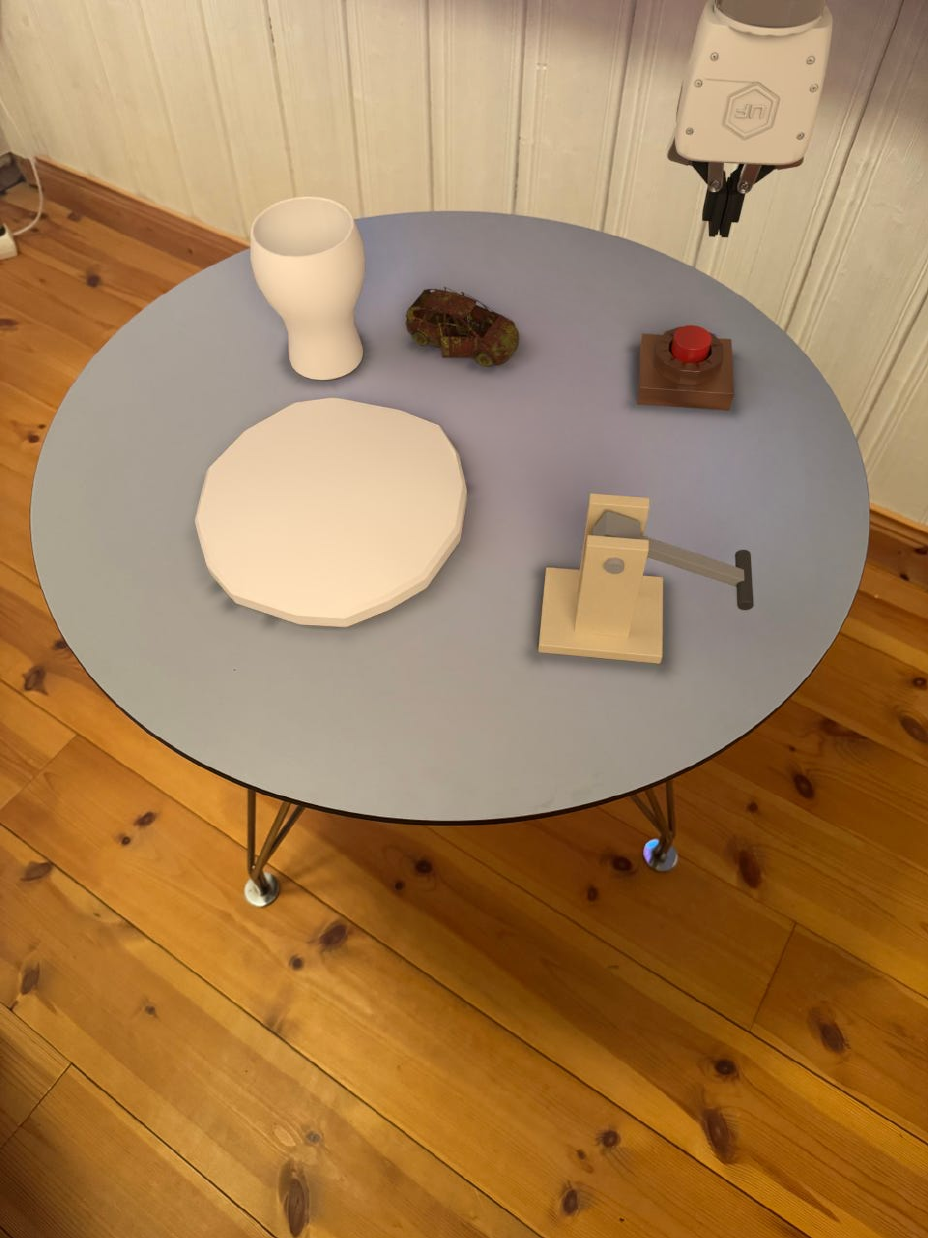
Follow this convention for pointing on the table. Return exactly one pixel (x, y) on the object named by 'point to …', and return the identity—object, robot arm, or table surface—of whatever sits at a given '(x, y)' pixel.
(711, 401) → the button block
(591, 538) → the lever base
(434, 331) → the toy car
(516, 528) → the table surface
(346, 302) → the cup
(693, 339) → the button
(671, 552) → the lever
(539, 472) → the table surface
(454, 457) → the decorative plate
